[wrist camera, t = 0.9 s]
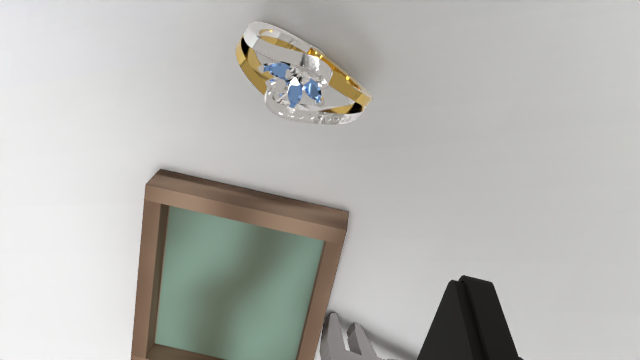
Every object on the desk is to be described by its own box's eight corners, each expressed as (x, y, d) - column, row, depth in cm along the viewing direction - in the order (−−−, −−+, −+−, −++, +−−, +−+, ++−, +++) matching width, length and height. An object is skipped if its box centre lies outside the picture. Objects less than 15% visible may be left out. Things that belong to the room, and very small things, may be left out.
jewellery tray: (348, 211, 35) (346, 230, 33) (305, 380, 41) (301, 406, 39) (160, 169, 35) (145, 184, 33) (143, 343, 41) (130, 366, 39)
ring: (246, 41, 32) (206, 73, 24) (278, -8, 30) (245, 10, 23) (348, 113, 33) (339, 164, 25) (382, 68, 31) (383, 109, 24)
